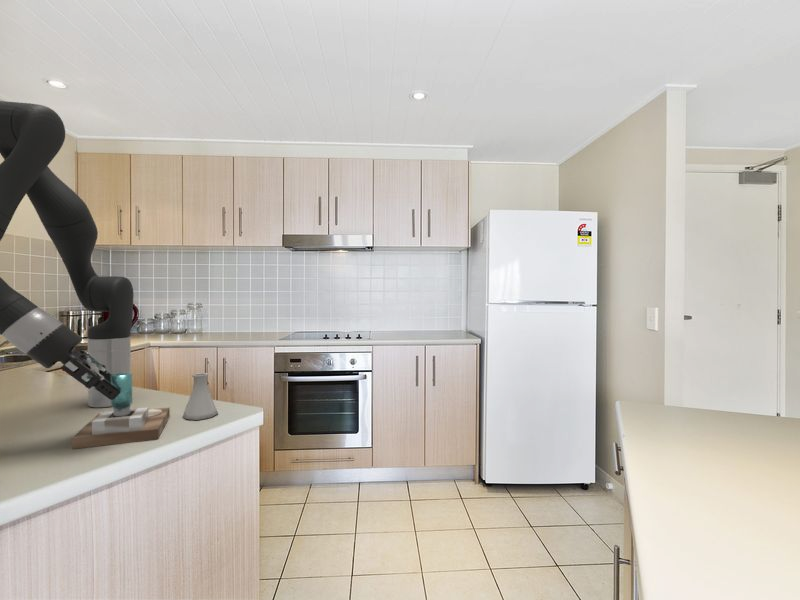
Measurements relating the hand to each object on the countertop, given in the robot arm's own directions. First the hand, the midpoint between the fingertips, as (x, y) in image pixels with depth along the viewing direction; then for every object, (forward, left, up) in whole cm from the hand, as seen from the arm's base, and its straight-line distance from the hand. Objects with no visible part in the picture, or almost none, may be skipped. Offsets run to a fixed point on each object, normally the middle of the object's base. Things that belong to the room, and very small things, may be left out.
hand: (118, 391), depth 84 cm
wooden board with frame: (-4, +1, -9) cm, 10 cm away
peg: (0, +1, -7) cm, 7 cm away
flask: (-10, +14, -9) cm, 20 cm away
